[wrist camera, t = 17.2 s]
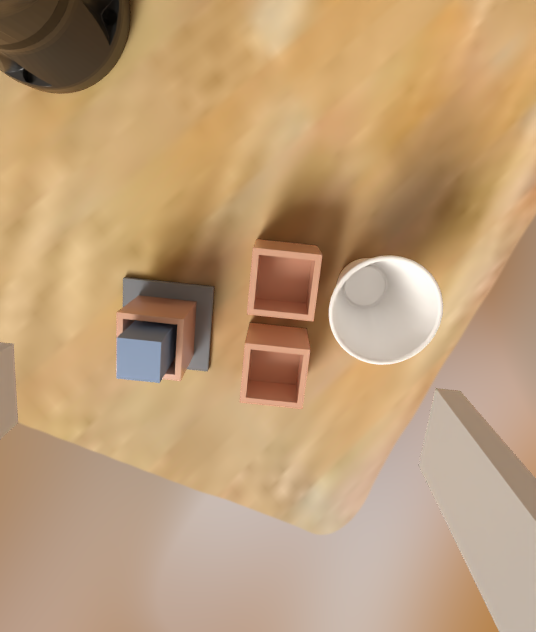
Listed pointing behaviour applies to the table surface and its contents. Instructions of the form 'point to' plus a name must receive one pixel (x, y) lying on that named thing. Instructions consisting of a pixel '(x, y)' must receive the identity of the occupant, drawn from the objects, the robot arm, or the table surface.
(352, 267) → the cup
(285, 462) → the table surface
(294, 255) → the pot
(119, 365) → the blue rectangular block
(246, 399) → the pot
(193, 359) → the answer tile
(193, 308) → the pot
